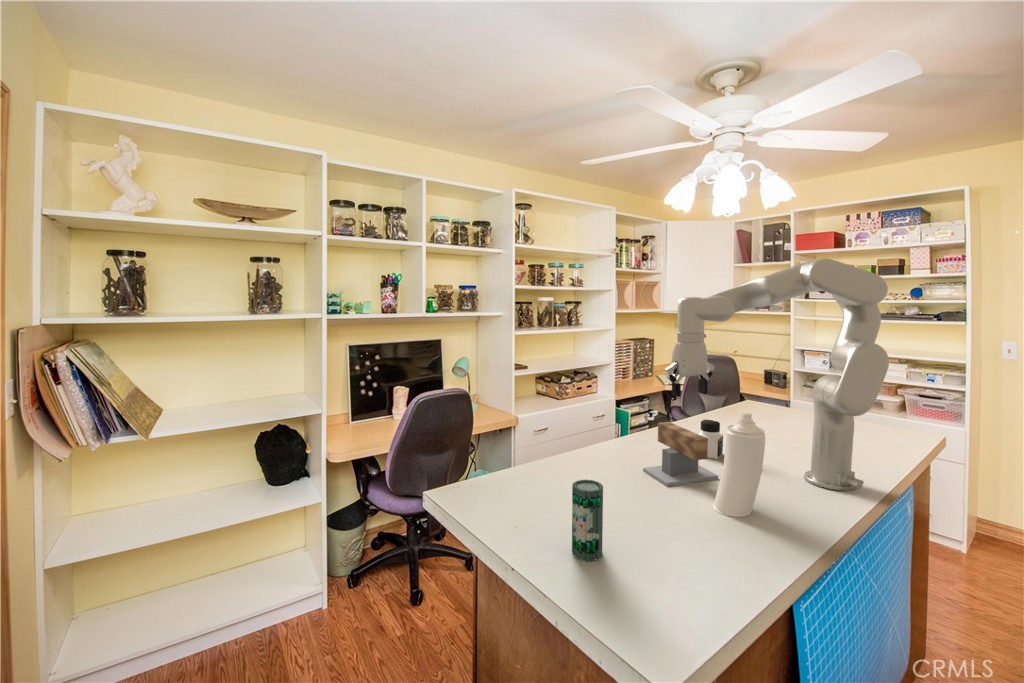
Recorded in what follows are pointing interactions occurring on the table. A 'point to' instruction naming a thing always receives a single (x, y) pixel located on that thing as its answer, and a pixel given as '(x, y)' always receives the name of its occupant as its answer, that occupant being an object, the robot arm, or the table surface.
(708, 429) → the medicine bottle
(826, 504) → the table surface
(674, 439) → the walnut bar
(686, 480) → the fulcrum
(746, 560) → the table surface
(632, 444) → the table surface
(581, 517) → the can
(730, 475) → the spray can
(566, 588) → the table surface
